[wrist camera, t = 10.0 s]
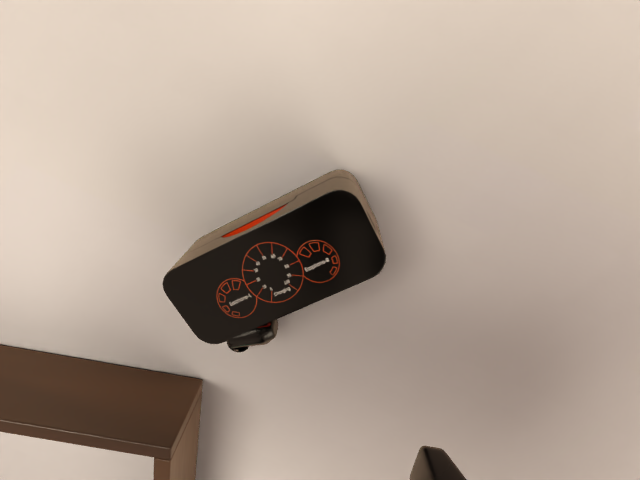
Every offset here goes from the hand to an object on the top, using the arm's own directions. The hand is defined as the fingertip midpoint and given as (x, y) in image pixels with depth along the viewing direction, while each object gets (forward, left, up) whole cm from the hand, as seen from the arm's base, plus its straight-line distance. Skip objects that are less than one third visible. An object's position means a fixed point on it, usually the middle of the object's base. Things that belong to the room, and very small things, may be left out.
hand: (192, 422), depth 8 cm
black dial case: (0, -1, -8) cm, 8 cm away
